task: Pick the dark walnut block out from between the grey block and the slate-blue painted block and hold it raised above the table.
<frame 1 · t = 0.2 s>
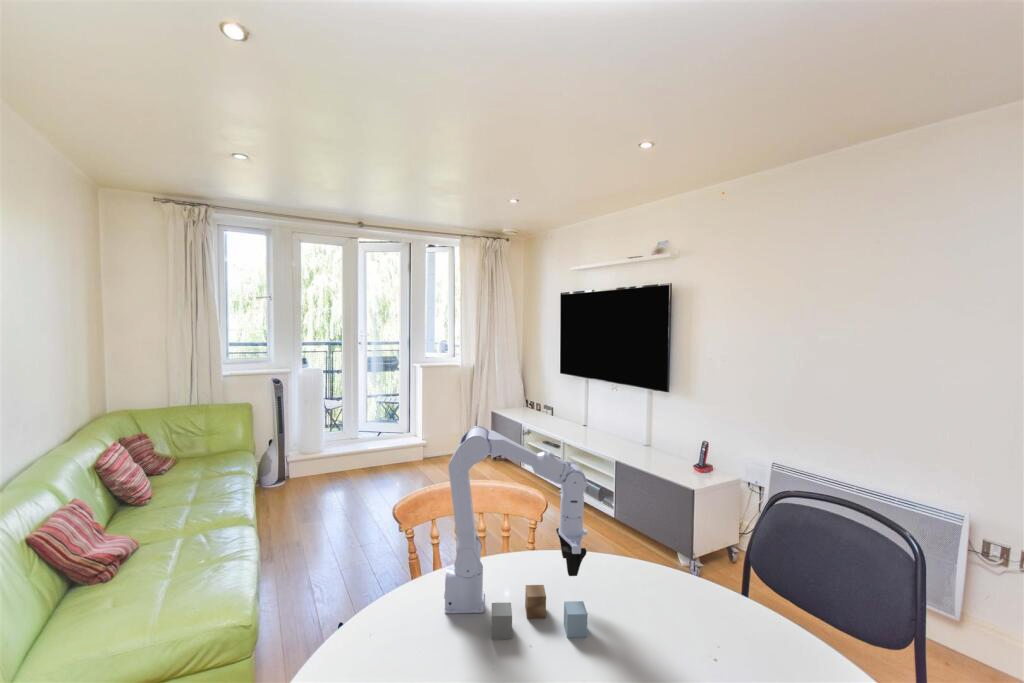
hand: (569, 566, 113), 10 cm above the table, tool pointing down, fingers open, 7 cm apart
slate block: (574, 630, 104), on the table
grey block: (501, 632, 103), on the table
walnut block: (535, 612, 110), on the table
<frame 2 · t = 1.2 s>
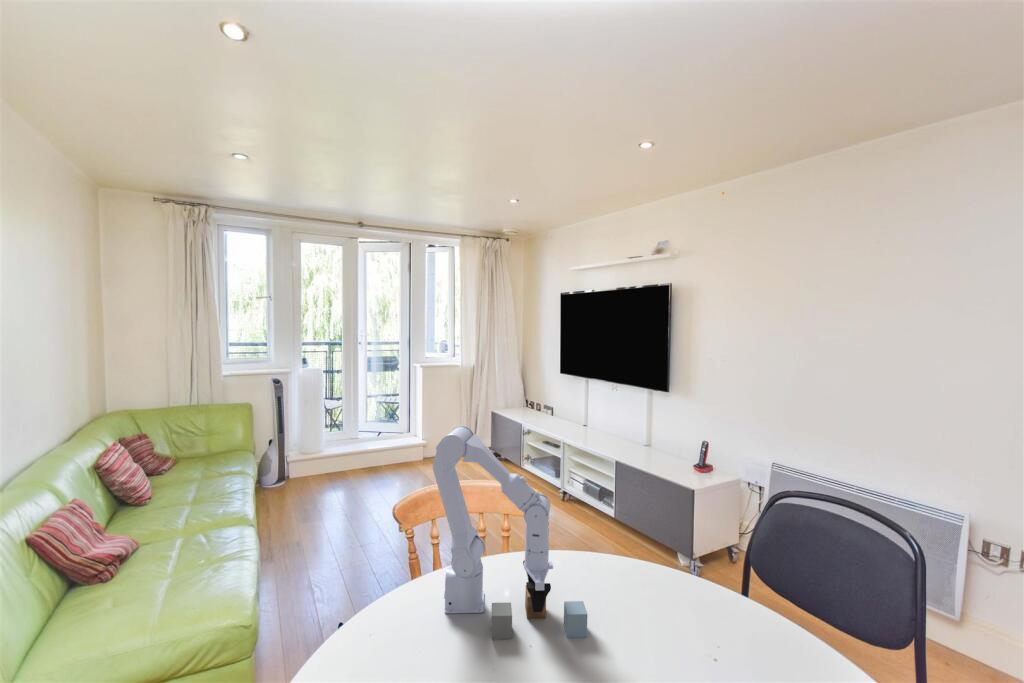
hand: (535, 600, 110), 3 cm above the table, tool pointing down, fingers open, 7 cm apart
nothing on the table moved.
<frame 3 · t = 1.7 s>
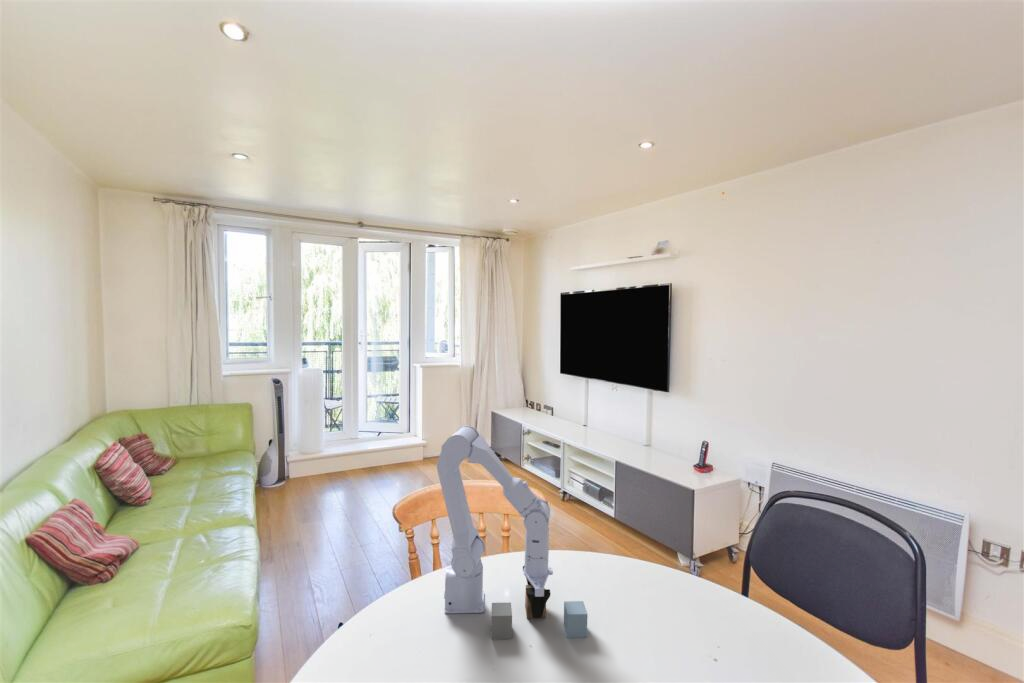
hand: (535, 606, 110), 1 cm above the table, tool pointing down, fingers open, 7 cm apart
nothing on the table moved.
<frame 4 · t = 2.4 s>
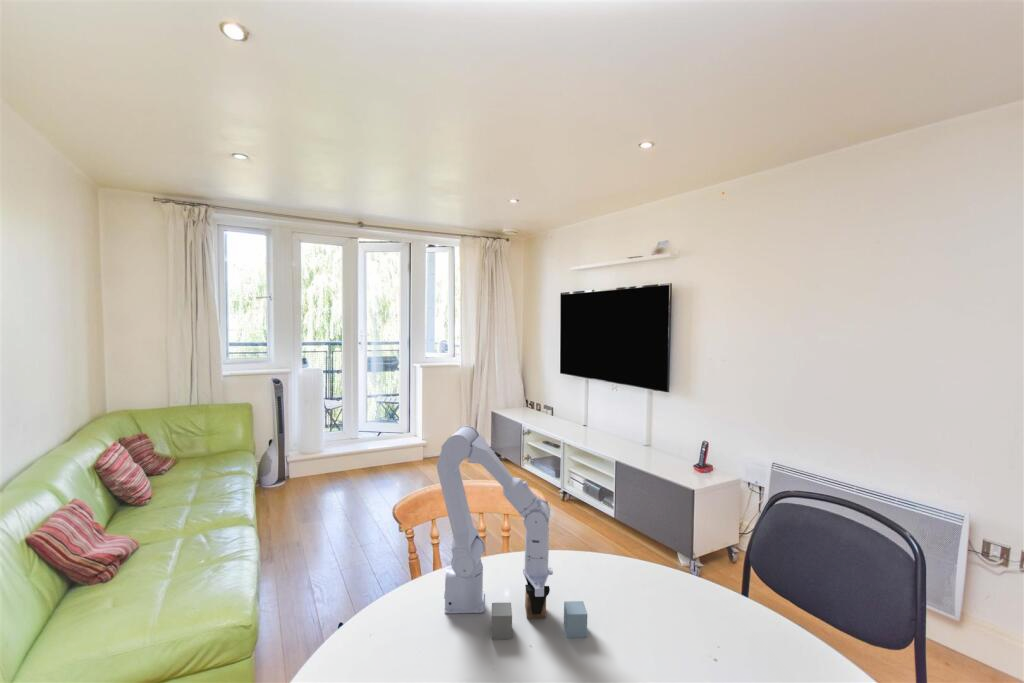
hand: (535, 606, 110), 1 cm above the table, tool pointing down, fingers closed on walnut block, 4 cm apart
walnut block: (535, 611, 110), on the table, touching gripper
everything else where it was.
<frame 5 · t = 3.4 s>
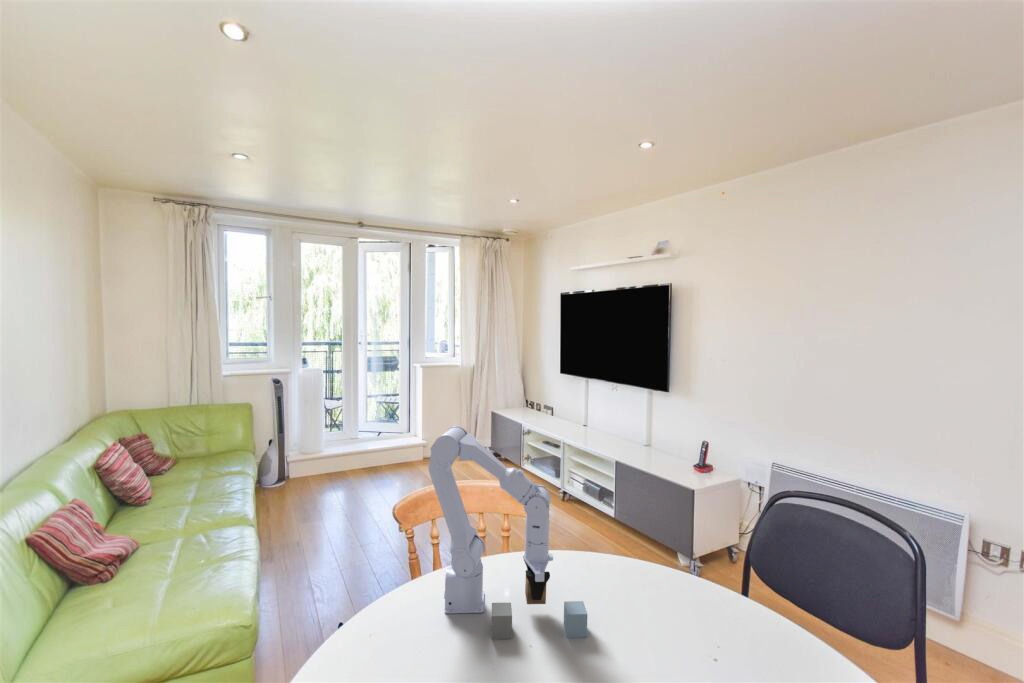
hand: (535, 592, 110), 5 cm above the table, tool pointing down, fingers closed on walnut block, 4 cm apart
walnut block: (535, 598, 110), point 3 cm above the table, touching gripper
everything else where it was.
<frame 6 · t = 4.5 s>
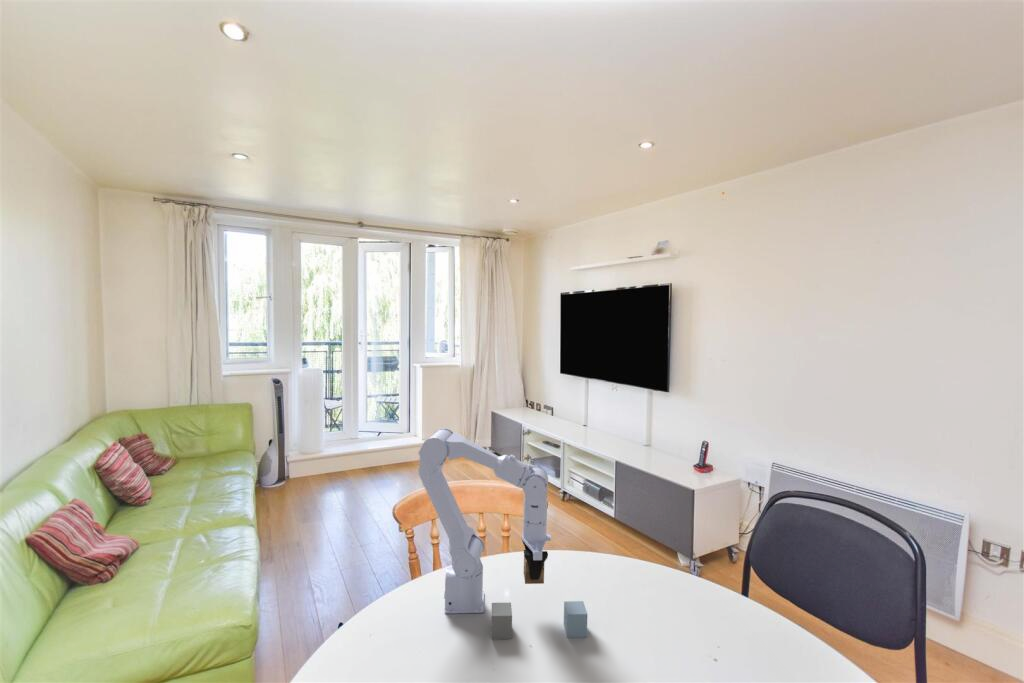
hand: (533, 572, 110), 9 cm above the table, tool pointing down, fingers closed on walnut block, 4 cm apart
walnut block: (533, 578, 110), point 8 cm above the table, touching gripper
everything else where it was.
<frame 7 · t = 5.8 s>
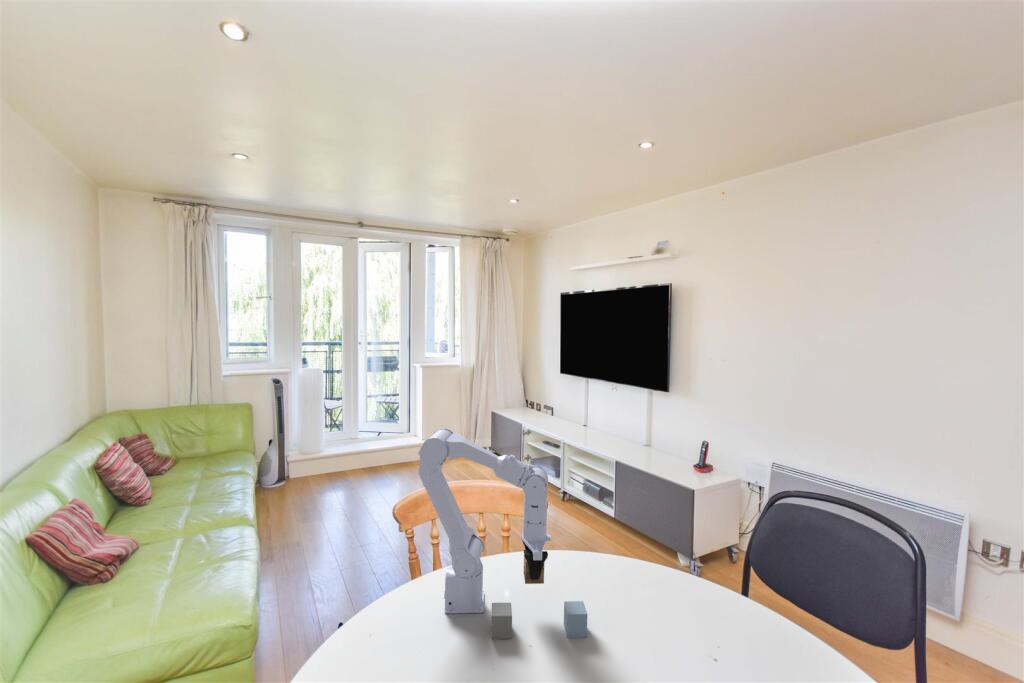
hand: (533, 572, 110), 9 cm above the table, tool pointing down, fingers closed on walnut block, 4 cm apart
walnut block: (533, 578, 110), point 8 cm above the table, touching gripper
everything else where it was.
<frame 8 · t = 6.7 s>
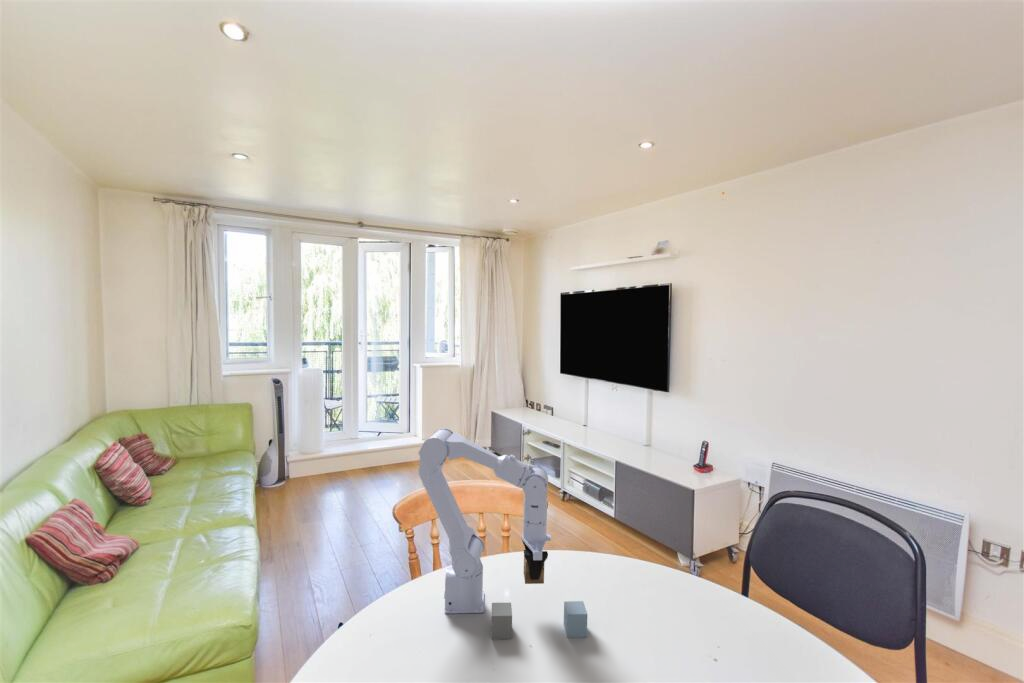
hand: (533, 572, 110), 9 cm above the table, tool pointing down, fingers closed on walnut block, 4 cm apart
walnut block: (533, 578, 110), point 8 cm above the table, touching gripper
everything else where it was.
at the end: the gripper is holding walnut block; walnut block point 8.0 cm above the table; slate block moved 0.1 cm from its start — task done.
